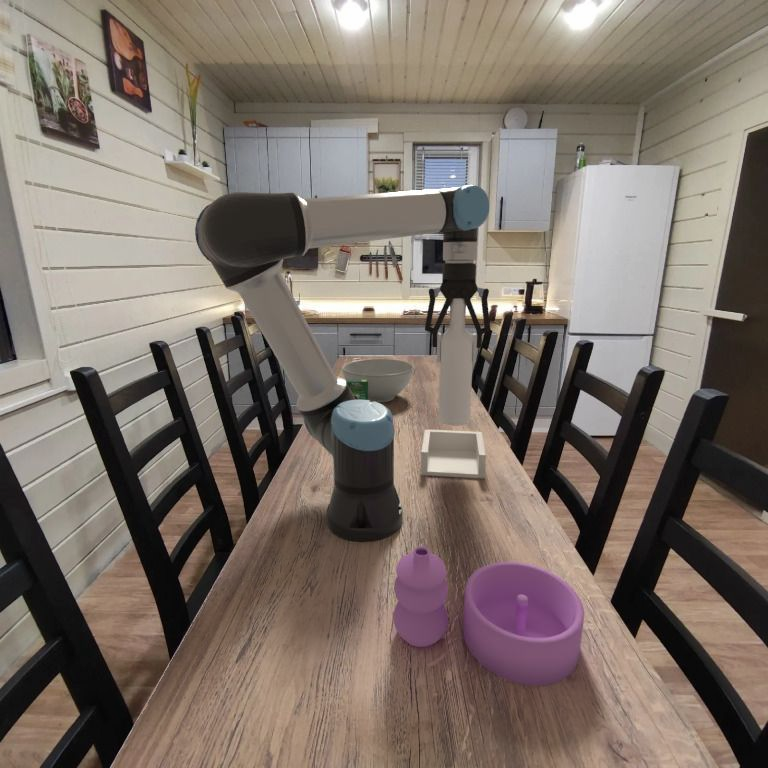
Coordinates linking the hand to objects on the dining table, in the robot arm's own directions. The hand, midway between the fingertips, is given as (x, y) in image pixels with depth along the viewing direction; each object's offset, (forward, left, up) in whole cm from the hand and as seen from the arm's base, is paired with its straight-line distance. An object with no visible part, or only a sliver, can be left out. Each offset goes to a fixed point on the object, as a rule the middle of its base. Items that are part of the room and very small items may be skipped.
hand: (456, 360), depth 109 cm
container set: (-39, -38, -27) cm, 61 cm away
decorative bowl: (+24, +56, -27) cm, 67 cm away
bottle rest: (0, 0, -27) cm, 27 cm away
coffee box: (+3, +43, -27) cm, 51 cm away
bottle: (0, 0, -15) cm, 15 cm away
